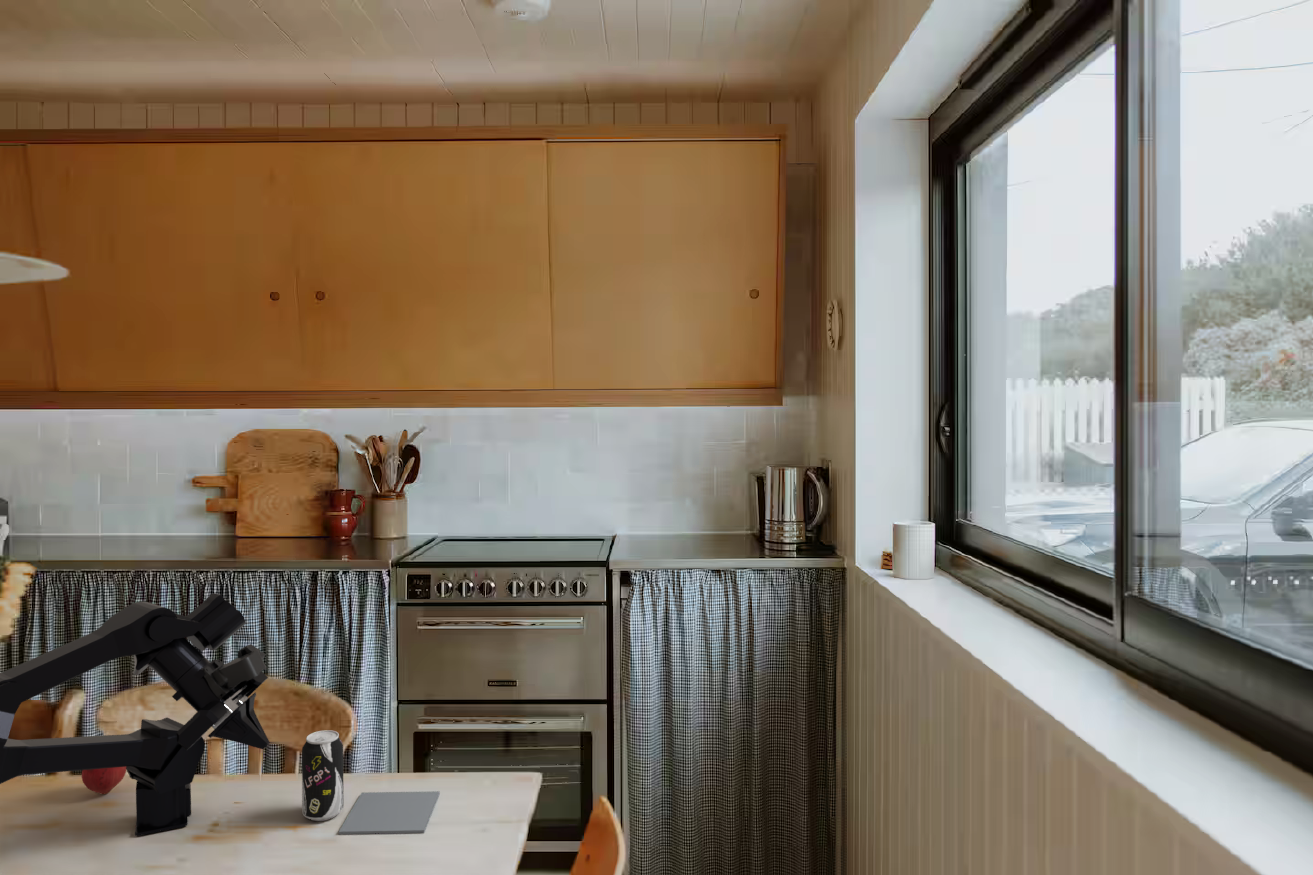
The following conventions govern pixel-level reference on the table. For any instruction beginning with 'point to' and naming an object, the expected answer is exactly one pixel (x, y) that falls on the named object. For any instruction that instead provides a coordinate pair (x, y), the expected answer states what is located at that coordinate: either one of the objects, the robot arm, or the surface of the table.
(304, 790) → the beverage can
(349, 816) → the mat
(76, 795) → the table surface
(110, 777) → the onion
